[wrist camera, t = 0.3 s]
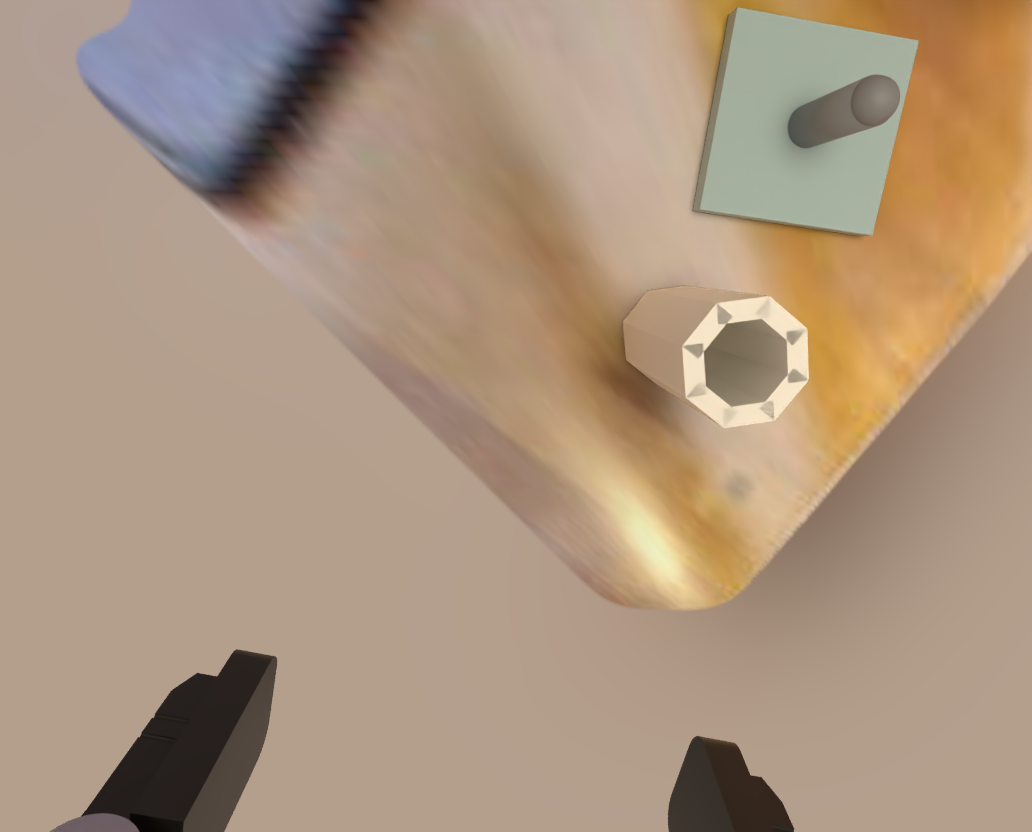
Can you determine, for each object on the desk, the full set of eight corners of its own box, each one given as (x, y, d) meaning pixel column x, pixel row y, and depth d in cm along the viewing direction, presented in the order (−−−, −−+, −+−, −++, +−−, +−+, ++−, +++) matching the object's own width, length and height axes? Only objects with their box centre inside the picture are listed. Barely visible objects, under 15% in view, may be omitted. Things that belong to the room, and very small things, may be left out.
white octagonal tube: (620, 294, 39) (679, 308, 28) (712, 282, 39) (806, 290, 28) (628, 386, 40) (688, 433, 29) (717, 373, 40) (809, 415, 30)
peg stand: (728, 15, 36) (804, -55, 28) (904, 47, 37) (1026, -11, 29) (692, 210, 38) (753, 198, 30) (859, 236, 39) (962, 230, 31)
